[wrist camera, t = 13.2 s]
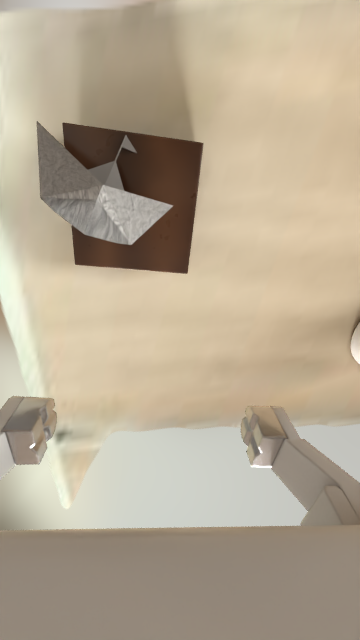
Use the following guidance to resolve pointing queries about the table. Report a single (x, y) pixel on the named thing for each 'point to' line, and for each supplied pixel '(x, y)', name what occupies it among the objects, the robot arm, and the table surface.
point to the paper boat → (93, 194)
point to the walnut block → (144, 180)
